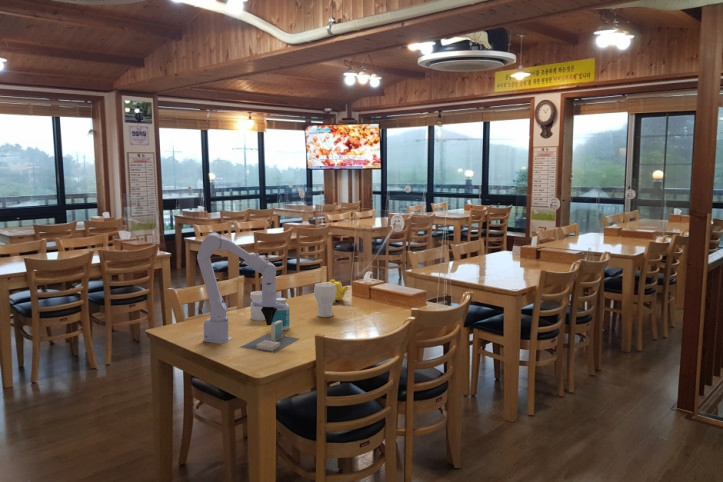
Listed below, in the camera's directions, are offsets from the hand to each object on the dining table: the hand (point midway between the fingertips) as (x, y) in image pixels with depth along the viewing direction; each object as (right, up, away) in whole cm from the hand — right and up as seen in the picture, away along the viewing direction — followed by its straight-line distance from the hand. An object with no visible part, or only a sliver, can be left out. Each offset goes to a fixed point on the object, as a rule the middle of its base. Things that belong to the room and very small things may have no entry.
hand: (269, 324), depth 238 cm
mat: (+2, -7, -6) cm, 9 cm away
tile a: (-2, -6, -11) cm, 12 cm away
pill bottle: (+3, -4, +15) cm, 16 cm away
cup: (+21, -1, +38) cm, 44 cm away
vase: (-9, -2, +32) cm, 33 cm away
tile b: (+3, -6, -1) cm, 7 cm away
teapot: (+23, +3, +66) cm, 70 cm away
